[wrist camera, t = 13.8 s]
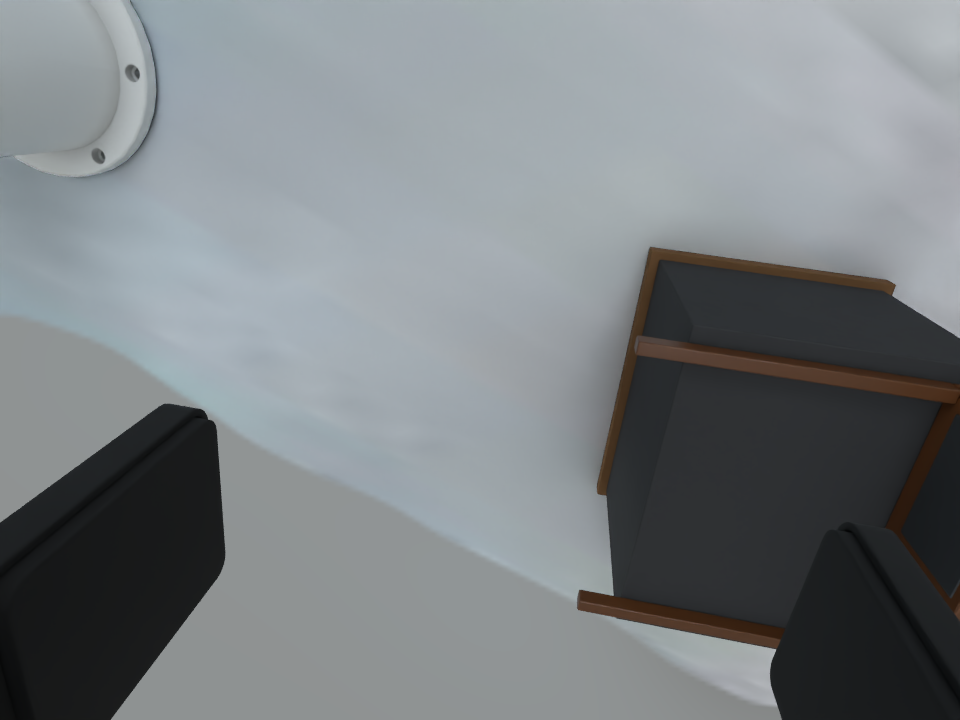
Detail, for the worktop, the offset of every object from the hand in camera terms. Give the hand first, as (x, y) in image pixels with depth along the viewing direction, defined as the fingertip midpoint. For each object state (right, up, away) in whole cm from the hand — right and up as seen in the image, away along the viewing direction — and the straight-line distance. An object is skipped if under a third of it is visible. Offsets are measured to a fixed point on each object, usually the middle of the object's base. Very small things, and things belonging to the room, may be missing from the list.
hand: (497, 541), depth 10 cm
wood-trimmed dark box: (+15, +1, +28) cm, 32 cm away
